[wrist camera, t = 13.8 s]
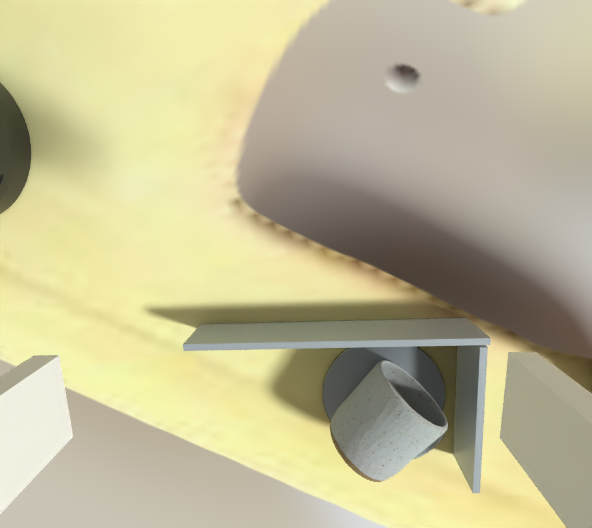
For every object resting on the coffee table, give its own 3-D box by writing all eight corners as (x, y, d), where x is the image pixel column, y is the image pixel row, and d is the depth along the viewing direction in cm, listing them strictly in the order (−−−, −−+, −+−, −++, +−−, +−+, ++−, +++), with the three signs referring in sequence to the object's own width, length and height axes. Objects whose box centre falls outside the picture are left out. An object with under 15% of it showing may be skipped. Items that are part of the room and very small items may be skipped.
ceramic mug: (322, 406, 37) (324, 462, 30) (373, 346, 36) (389, 389, 28) (404, 463, 38) (426, 531, 31) (458, 407, 37) (494, 464, 29)
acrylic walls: (214, 454, 40) (199, 490, 35) (201, 324, 37) (183, 344, 32) (461, 454, 38) (482, 493, 33) (466, 317, 35) (490, 338, 31)
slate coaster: (325, 445, 39) (325, 449, 38) (321, 338, 37) (321, 341, 36) (441, 445, 38) (443, 449, 38) (444, 336, 36) (447, 338, 35)
